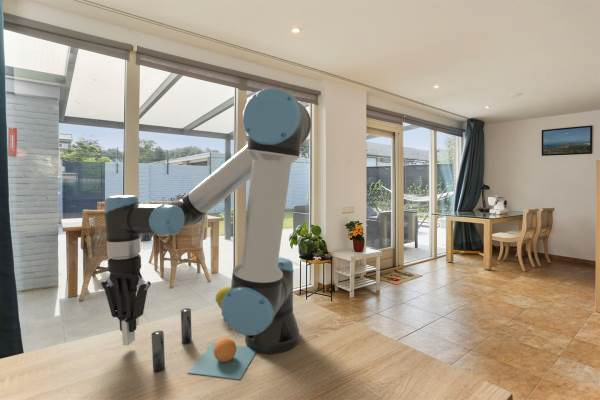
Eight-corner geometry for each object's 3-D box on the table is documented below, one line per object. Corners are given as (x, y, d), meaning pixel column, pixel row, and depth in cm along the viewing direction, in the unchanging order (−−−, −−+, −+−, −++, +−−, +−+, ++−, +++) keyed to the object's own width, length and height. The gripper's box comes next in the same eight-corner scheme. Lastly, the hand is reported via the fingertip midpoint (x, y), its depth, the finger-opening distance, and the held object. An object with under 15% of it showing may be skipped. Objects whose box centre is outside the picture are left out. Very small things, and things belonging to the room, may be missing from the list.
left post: (167, 366, 77) (165, 331, 76) (160, 373, 75) (159, 336, 74) (157, 365, 78) (155, 330, 77) (150, 372, 75) (149, 335, 74)
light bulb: (232, 323, 99) (231, 292, 98) (212, 321, 100) (211, 290, 100) (240, 313, 106) (239, 284, 105) (221, 312, 107) (220, 283, 106)
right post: (193, 339, 90) (192, 308, 89) (188, 344, 87) (187, 312, 86) (185, 338, 90) (184, 307, 89) (180, 343, 88) (178, 311, 87)
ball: (233, 330, 82) (215, 338, 83) (224, 341, 76) (205, 350, 78) (243, 349, 82) (225, 357, 83) (235, 361, 76) (216, 370, 78)
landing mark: (257, 348, 85) (257, 347, 85) (240, 379, 72) (240, 379, 72) (212, 343, 87) (212, 343, 87) (187, 373, 75) (187, 372, 75)
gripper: (156, 252, 85) (159, 337, 87) (113, 250, 87) (117, 333, 89) (137, 260, 78) (141, 352, 80) (90, 258, 80) (96, 347, 82)
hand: (129, 342), depth 85 cm, fingers closed
